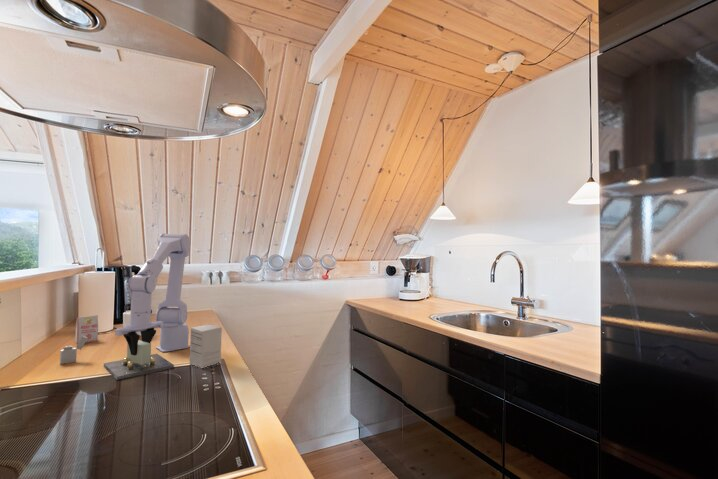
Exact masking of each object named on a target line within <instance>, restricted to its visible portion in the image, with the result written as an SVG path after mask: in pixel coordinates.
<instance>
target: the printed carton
mask: <svg viewBox="0 0 718 479" xmlns="http://www.w3.org/2000/svg"><path fill="white" fill-rule="evenodd" d="M98 316H99V315H87V316H78V317H76V321H75V336H74V337H75V338H74V342H75V343H76V345H78V343H79V341H80V340H81V338H82V336H85V337H87V338H88V339H87V340H86V342H85V343H91V342H97V341H98V340H99V339H98V338H99V317H98Z"/></svg>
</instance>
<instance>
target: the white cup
mask: <svg viewBox="0 0 718 479" xmlns="http://www.w3.org/2000/svg"><path fill="white" fill-rule="evenodd" d="M130 318H131V310H129V311H124V312H123V313H122V320H123V321H122V325H123V326H122V327H125V326H129V325H130ZM136 333H137V334H138V335H140V337H141V332H140V331H139V332H136Z"/></svg>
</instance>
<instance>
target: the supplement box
mask: <svg viewBox="0 0 718 479" xmlns="http://www.w3.org/2000/svg"><path fill="white" fill-rule="evenodd" d="M222 329H223V328H222V327H221V326H218V325H213V324H211V323H210V324H209V323H208V324H203V325H198V326H192V327H190V338H189V339H190V343H189V344H190V345H189V365H190V364H192V365H195V366H198V367H201V368H203V367H207V366H210V365H213V364H216V363H218V362H221V361H222V359H221V358H222V356H221V355H222V333H223V332H222V331H223V330H222ZM192 365H191V366H192ZM195 366H194V367H195ZM207 368H208V367H207Z"/></svg>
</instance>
